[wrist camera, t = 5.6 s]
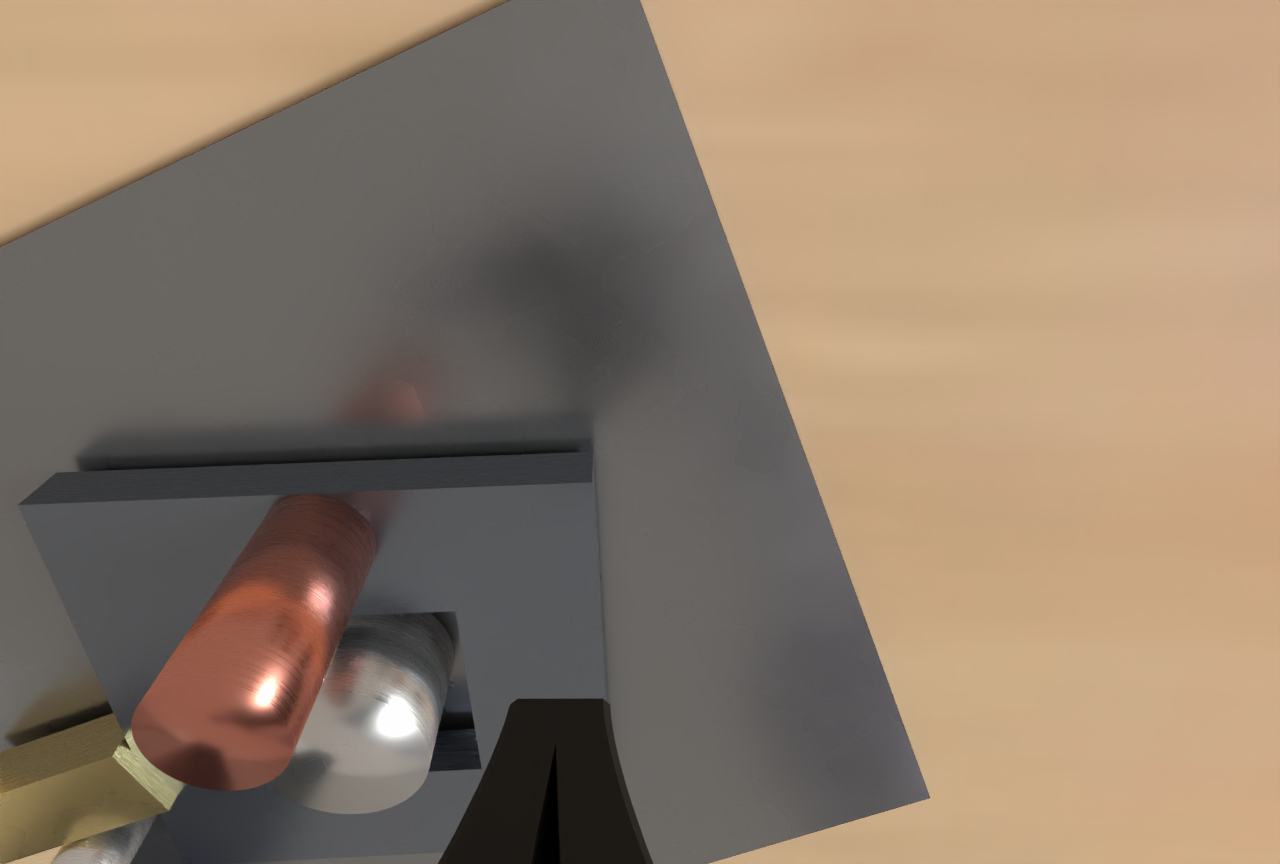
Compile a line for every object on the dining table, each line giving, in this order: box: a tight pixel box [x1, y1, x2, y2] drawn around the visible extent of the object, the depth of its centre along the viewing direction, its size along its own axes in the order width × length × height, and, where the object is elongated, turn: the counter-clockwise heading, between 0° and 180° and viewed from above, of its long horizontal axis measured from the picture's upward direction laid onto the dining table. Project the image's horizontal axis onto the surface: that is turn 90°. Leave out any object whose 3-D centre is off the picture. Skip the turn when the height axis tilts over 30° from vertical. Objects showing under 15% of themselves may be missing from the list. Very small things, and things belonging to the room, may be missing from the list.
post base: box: [0, 0, 930, 864], centre depth 18 cm, size 22×22×3 cm
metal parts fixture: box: [0, 452, 607, 864], centre depth 16 cm, size 15×11×6 cm
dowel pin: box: [51, 815, 157, 864], centre depth 20 cm, size 2×2×3 cm
